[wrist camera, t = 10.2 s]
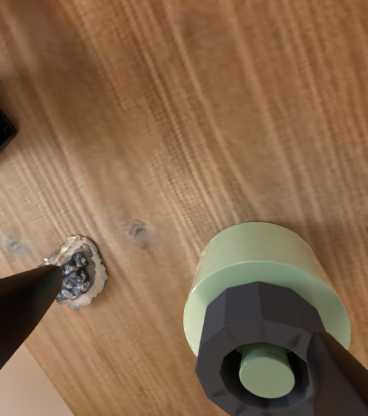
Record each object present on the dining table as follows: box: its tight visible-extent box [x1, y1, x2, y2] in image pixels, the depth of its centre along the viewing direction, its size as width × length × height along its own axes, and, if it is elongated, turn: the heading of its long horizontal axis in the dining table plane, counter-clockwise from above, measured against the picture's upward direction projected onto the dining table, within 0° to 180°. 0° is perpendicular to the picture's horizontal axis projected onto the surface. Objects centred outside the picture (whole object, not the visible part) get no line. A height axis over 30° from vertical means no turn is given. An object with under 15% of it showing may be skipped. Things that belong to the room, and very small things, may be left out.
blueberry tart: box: [38, 235, 108, 312], centre depth 24 cm, size 7×8×2 cm
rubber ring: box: [195, 281, 326, 416], centre depth 14 cm, size 7×7×3 cm
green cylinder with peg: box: [183, 222, 351, 398], centre depth 17 cm, size 10×10×9 cm
